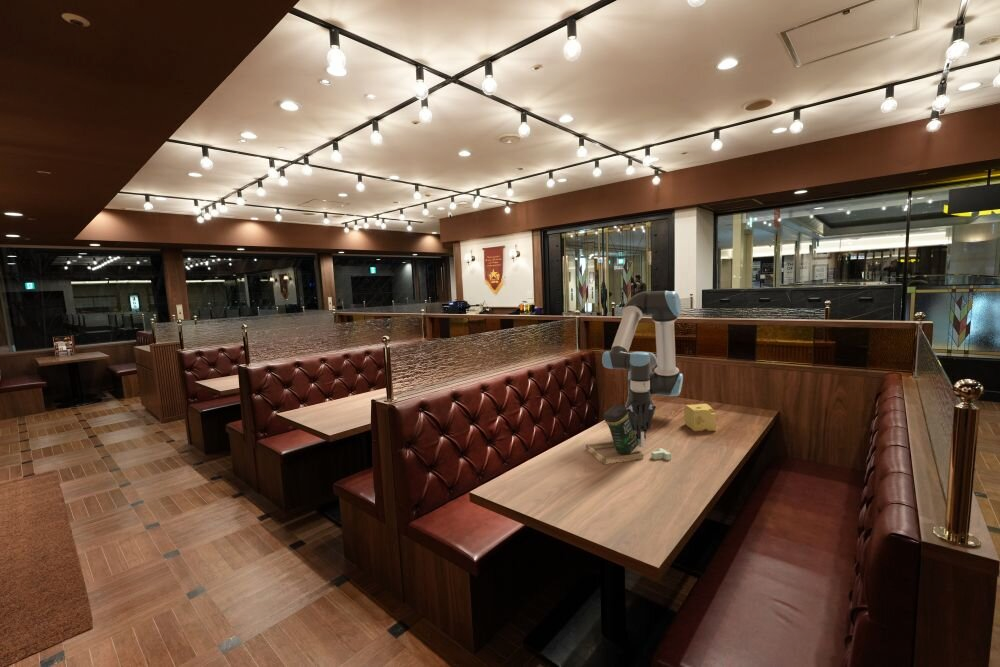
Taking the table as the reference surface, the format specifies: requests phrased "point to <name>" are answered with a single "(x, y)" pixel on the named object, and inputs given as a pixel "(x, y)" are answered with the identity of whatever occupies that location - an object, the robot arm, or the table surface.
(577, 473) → the table surface
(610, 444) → the oak frame
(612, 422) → the coffee jar
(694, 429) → the cheese
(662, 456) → the sage T block
